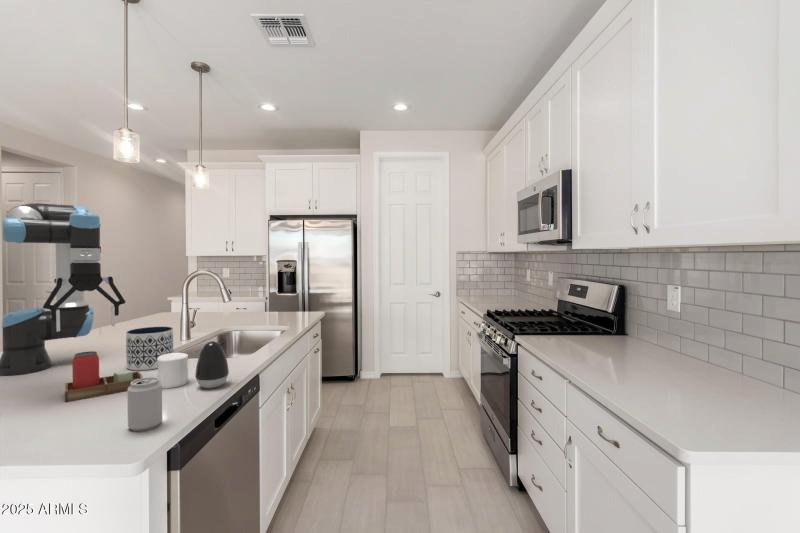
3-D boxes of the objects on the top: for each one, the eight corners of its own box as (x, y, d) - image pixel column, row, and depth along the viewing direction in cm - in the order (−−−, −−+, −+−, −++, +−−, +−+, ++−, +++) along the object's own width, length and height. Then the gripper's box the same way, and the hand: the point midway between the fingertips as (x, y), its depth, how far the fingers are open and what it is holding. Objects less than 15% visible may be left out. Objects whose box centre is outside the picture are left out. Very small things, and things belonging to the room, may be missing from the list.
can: (139, 420, 103) (138, 375, 103) (168, 419, 104) (167, 375, 103) (121, 433, 96) (120, 385, 95) (152, 431, 96) (152, 384, 96)
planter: (148, 359, 164) (148, 326, 164) (182, 360, 162) (181, 327, 162) (116, 370, 149) (115, 333, 148) (153, 372, 146) (152, 334, 146)
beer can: (84, 395, 119) (83, 356, 119) (67, 393, 120) (66, 355, 120) (104, 387, 125) (104, 351, 125) (88, 386, 127) (87, 350, 126)
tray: (65, 393, 123) (65, 383, 123) (139, 380, 136) (139, 371, 136) (65, 402, 116) (65, 391, 116) (143, 387, 129) (143, 378, 128)
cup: (165, 390, 126) (165, 361, 125) (150, 385, 131) (149, 357, 131) (194, 382, 134) (194, 355, 134) (178, 378, 139) (178, 351, 139)
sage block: (113, 384, 129) (113, 372, 128) (127, 381, 132) (127, 370, 132) (118, 387, 126) (118, 374, 126) (132, 383, 130) (132, 372, 129)
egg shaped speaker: (235, 383, 133) (235, 339, 133) (209, 393, 124) (209, 346, 123) (215, 379, 137) (214, 337, 137) (188, 388, 128) (188, 343, 128)
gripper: (30, 262, 112) (31, 335, 112) (134, 262, 128) (135, 325, 128) (32, 262, 117) (33, 331, 118) (131, 261, 133) (132, 322, 134)
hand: (86, 328), depth 123 cm, fingers open, 13 cm apart
